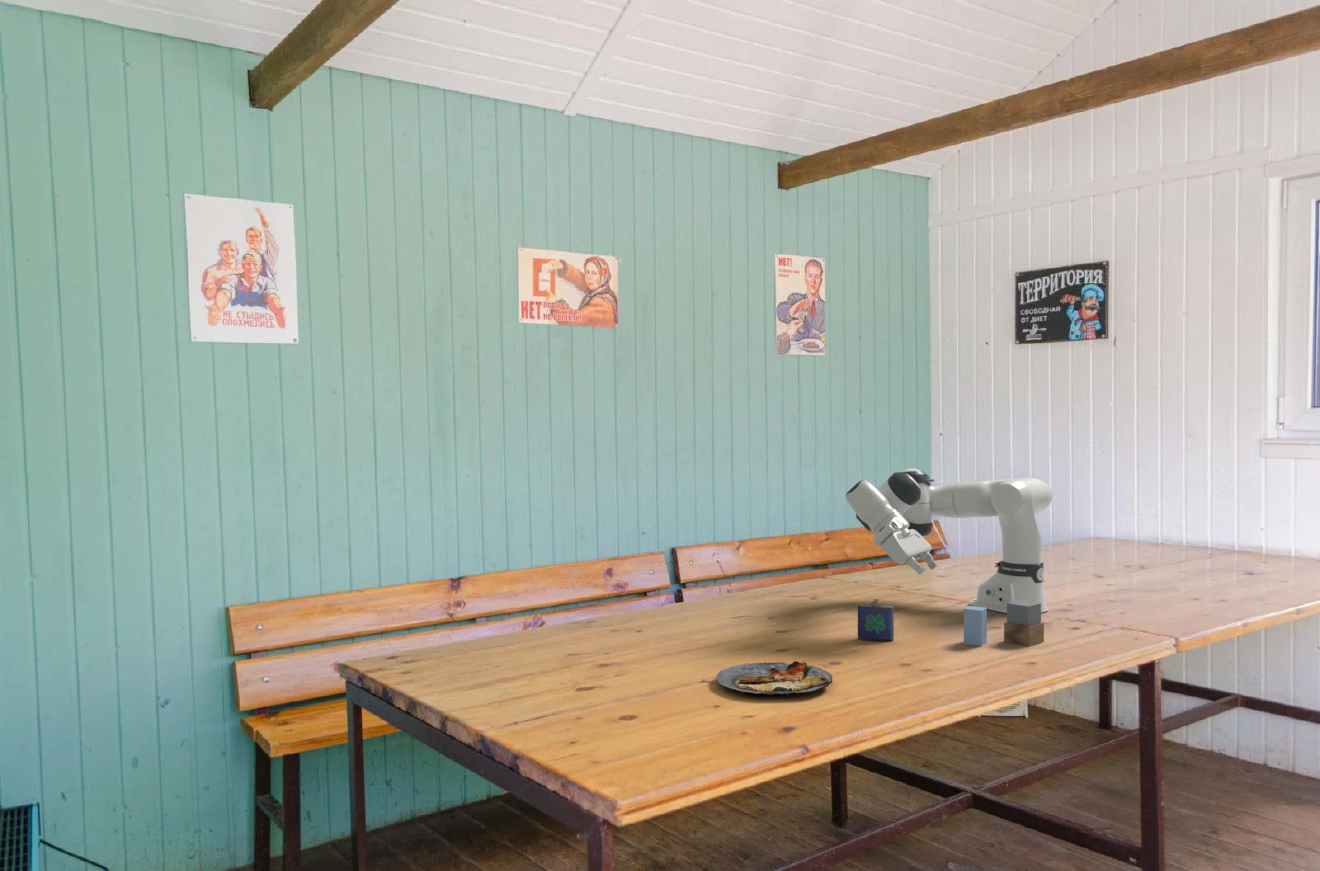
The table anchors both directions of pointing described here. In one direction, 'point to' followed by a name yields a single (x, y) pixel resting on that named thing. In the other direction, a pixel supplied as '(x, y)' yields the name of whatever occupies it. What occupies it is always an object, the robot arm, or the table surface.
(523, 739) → the table surface
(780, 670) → the food plate
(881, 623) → the flask
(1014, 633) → the tower base
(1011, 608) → the tower middle
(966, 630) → the pillar
